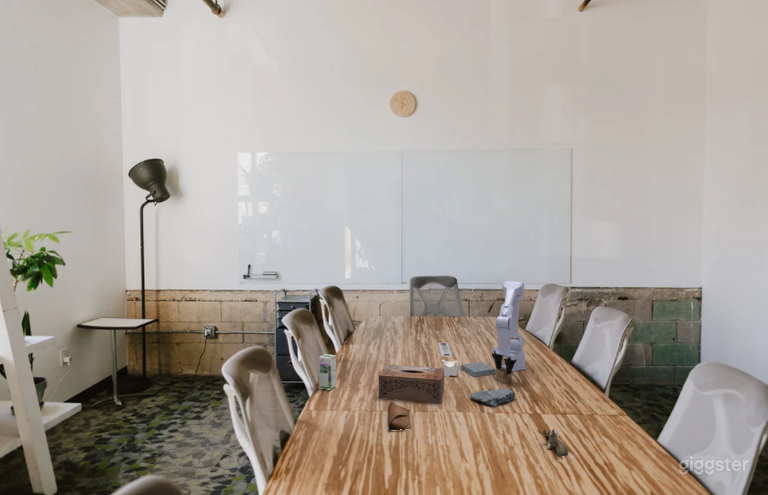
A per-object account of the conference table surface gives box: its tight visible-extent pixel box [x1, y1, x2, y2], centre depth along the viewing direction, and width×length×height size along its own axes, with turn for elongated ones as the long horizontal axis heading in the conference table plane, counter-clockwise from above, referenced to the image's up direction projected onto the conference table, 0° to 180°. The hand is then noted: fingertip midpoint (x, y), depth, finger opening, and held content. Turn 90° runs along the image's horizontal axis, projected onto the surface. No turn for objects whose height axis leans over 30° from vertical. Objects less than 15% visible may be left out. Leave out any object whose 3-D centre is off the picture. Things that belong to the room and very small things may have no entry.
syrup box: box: [318, 353, 337, 390], centre depth 183 cm, size 6×6×14 cm
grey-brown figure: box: [536, 427, 569, 458], centre depth 131 cm, size 8×7×9 cm
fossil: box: [469, 387, 516, 408], centre depth 170 cm, size 13×18×4 cm
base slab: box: [460, 361, 496, 378], centre depth 204 cm, size 12×12×2 cm
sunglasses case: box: [387, 401, 412, 431], centre depth 152 cm, size 18×7×7 cm
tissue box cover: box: [378, 364, 445, 405], centre depth 176 cm, size 26×14×10 cm, turn 77°
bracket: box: [441, 359, 459, 378], centre depth 203 cm, size 13×7×8 cm, turn 168°
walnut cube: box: [495, 367, 513, 384], centre depth 191 cm, size 5×5×5 cm
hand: (503, 371), depth 191 cm, fingers open, 7 cm apart
